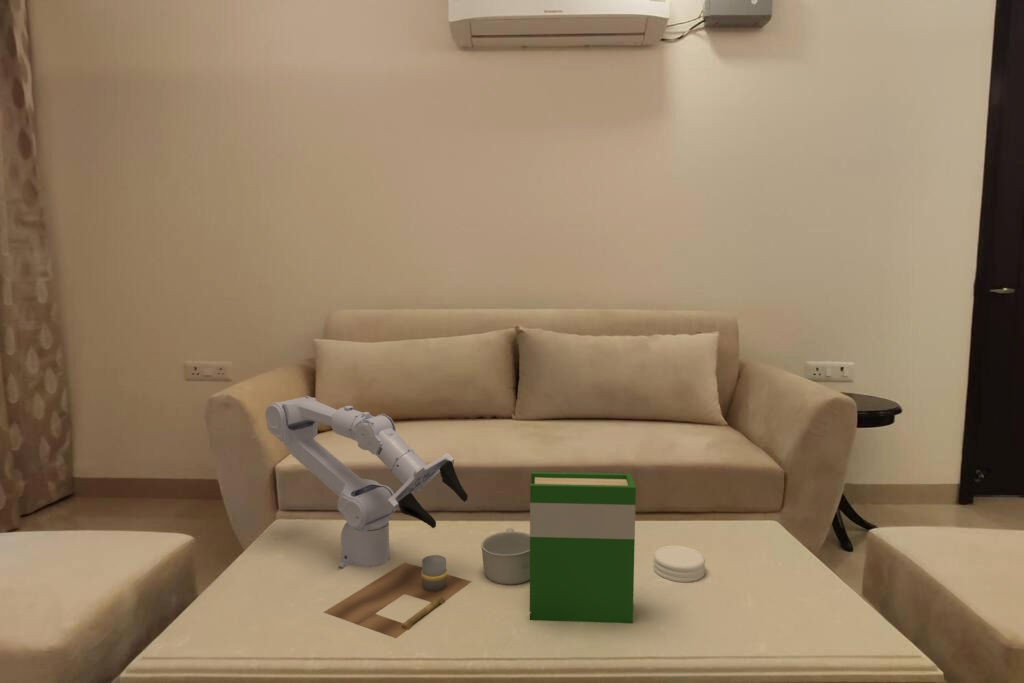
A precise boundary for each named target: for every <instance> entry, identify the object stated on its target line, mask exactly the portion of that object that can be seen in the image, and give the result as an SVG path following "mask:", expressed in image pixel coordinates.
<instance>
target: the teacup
mask: <svg viewBox="0 0 1024 683" xmlns="http://www.w3.org/2000/svg"><path fill="white" fill-rule="evenodd" d="M480 547H481V551H482V552H481V554H482V563H483V564H482V565H483V570H484V573H485V576H486V577H487V578H488V579H489V580H490V581H491V582H493V583H495V584H496V583H497V584H501V585H507V586H509V585H511V586H512V585H518V584H519V585H520V584H524V583H526V582H528V581H530V533H527V532H524V531H515V530H514V528H513V527H511V528H510V527H508V528H506V530H505V531H503V532H501V531H500V532H497V533H493V534H490V535H489V536H487V537H486V538H484V539H483V540H482V541H481V544H480Z"/></svg>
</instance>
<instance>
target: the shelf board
mask: <svg viewBox="0 0 1024 683" xmlns="http://www.w3.org/2000/svg"><path fill="white" fill-rule="evenodd" d="M421 571H422V566H419V565H415V564H412V563H408V562H404V563H401V564H400V565H398V566H397V567H395V568H393V569H392V570H390V571H389V572H387V573H385V574H383V575H382V576H380V577H379V578H377V579H376V580H374V581H372V582H371V583H369V584H367V585H365V586H364V587H362V588H361V589H359V590H356V592H354V593H352V594H351V595H349V596H348V597H346V598H344V599H342V600H341V601H340V602H338V603H336V604H334V605H333V606H331V607H329V608H328V609H326V610H324V611H323V613H324V614H326V615H327V614H328V615H330V616H333V617H335V618H338V619H341V620H344V621H346V622H350V623H352V624H355V625H357V626H360V627H364V628H366V629H369V630H372V631H375V632H378V633H380V634H383V635H386V636H387V637H391V638H393V639H397V638H398V637H400V636H401V635H403V634H404V633H405V632H407V631H408V630H410V629H411V628H412V627H413V624H415V623H416V622H417V621H418V620H421V619H422V618H423V617H425V615H428V613H430V612H431V611H432V610H434V608H436V607H437V606H441V605H443V604H444V603H445V602H446V601H448V600H449V599H450V598H452V597H453V596H454V595H455V594H457V593H458V592H460V591H461V590H463V589H464V588H465V587H466V586H467V585H469V584H470V583H471V582H472V580H468V579H466V578H462V577H458V576H454V575H450V574H448V573H447V576H446V587H445V588H444V589H443V590H441V591H437V592H429V591H426V590H424V589H423V587H422V576H421ZM403 595H407V596H409V597H413V598H416V599H420V600H423V601H427V602H429V604H428V605H426V606H425V607H423V608H422V609H420V610H419V611H418V612H416V613H415V614H414V615H412V616H410V617H409V618H408V619H406V620H405V621H404V622H400V621H397V620H395V619H392V618H389V617H386V616H383V615H379V614H377V613H378V612H379V611H381V610H383V609H384V608H386V607H387V606H389V605H390V604H392V603H394V601H396V600H398V599H399V598H400V597H402V596H403Z"/></svg>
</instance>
